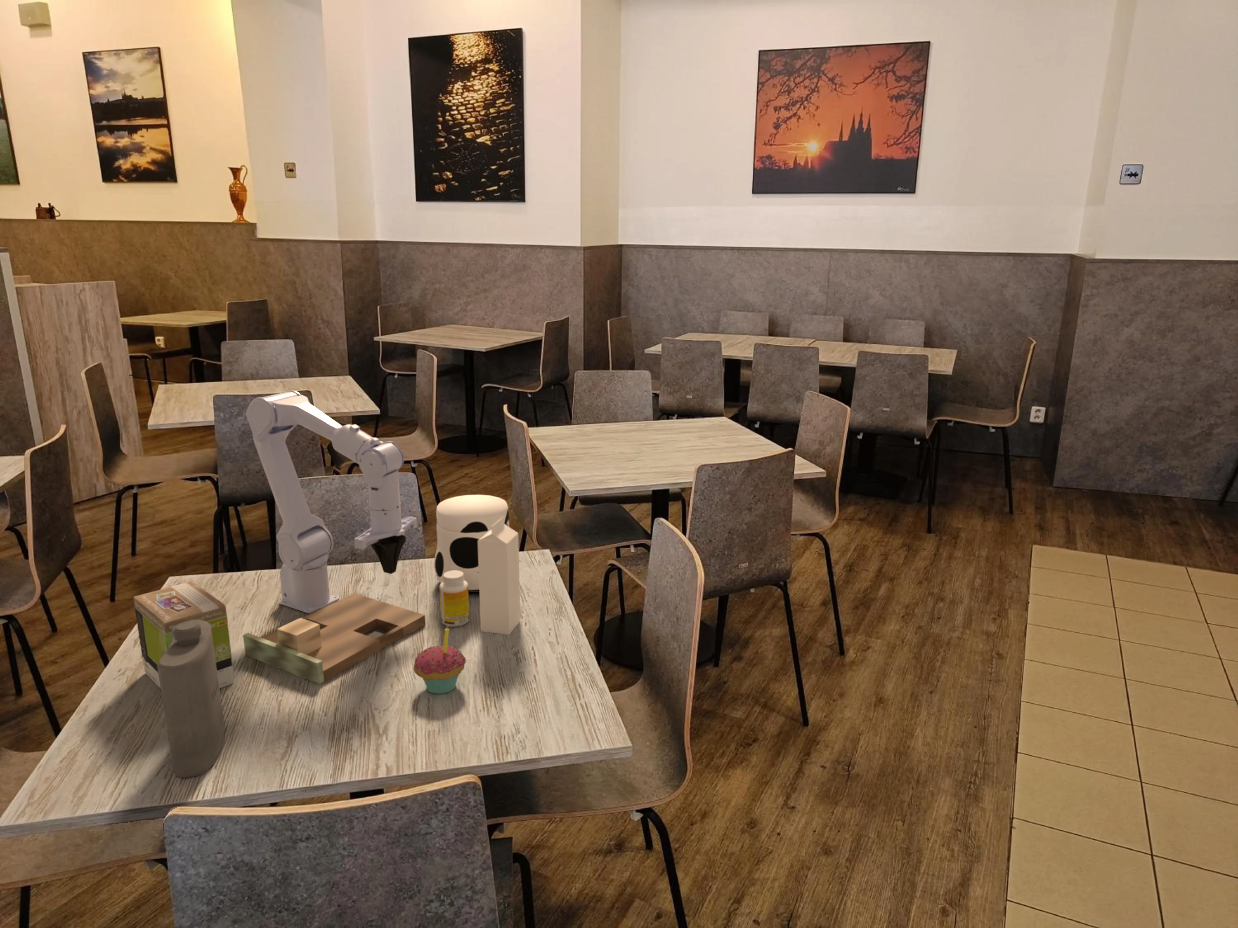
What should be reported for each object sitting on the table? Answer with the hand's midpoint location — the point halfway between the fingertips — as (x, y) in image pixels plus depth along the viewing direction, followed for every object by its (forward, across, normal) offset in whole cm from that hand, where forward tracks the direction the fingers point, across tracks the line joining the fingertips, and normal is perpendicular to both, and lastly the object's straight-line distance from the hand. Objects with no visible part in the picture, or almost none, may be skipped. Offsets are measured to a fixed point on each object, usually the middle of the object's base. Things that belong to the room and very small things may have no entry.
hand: (389, 571), depth 159 cm
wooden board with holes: (+10, -10, +3) cm, 15 cm away
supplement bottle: (+11, +6, -11) cm, 16 cm away
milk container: (+11, +23, -2) cm, 25 cm away
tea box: (+11, -34, +14) cm, 38 cm away
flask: (+11, -45, -6) cm, 47 cm away
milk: (+11, +9, -20) cm, 24 cm away
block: (+8, -20, +3) cm, 22 cm away
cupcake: (+11, -14, -25) cm, 31 cm away
